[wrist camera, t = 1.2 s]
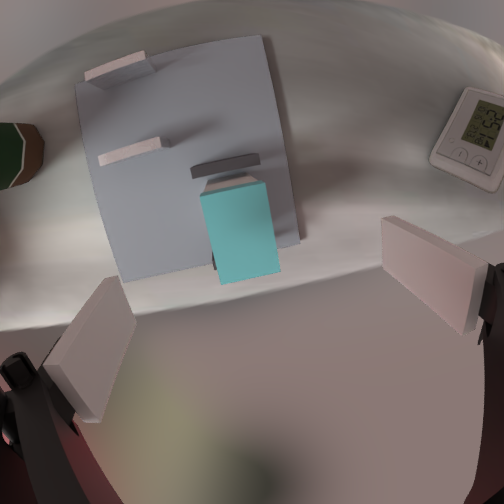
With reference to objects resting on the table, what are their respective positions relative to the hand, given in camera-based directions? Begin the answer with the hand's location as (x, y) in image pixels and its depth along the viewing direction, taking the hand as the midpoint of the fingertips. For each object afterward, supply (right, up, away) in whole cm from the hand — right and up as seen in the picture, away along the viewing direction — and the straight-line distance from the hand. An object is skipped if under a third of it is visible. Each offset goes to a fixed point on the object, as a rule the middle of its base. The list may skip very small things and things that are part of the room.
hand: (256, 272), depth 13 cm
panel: (-7, +11, +16) cm, 20 cm away
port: (-12, +16, +13) cm, 24 cm away
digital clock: (+29, +18, +18) cm, 38 cm away
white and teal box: (-2, +6, +17) cm, 18 cm away
